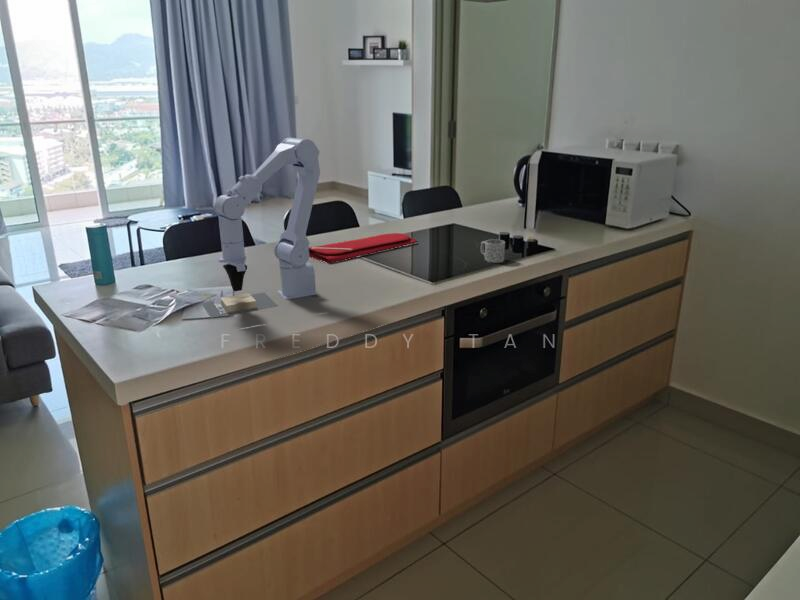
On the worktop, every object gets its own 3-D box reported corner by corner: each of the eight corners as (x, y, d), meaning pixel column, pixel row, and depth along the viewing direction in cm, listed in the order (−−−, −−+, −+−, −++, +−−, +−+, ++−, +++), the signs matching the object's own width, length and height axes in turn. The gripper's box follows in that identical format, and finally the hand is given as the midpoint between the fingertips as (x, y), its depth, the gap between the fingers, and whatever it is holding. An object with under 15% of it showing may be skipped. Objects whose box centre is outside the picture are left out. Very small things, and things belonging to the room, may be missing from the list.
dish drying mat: (418, 245, 229) (418, 235, 227) (329, 265, 204) (328, 255, 202) (392, 238, 240) (392, 228, 239) (304, 256, 215) (303, 246, 214)
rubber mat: (264, 293, 175) (264, 292, 175) (278, 307, 164) (277, 305, 164) (201, 304, 167) (201, 302, 167) (211, 319, 156) (211, 317, 156)
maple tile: (249, 293, 168) (256, 300, 162) (249, 300, 169) (256, 307, 163) (220, 298, 164) (226, 305, 159) (221, 305, 165) (227, 312, 159)
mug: (508, 260, 206) (509, 242, 204) (494, 264, 203) (495, 245, 200) (487, 254, 214) (488, 236, 212) (473, 257, 210) (474, 239, 208)
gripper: (210, 237, 162) (216, 285, 166) (223, 249, 150) (229, 300, 154) (237, 234, 165) (241, 281, 169) (251, 245, 153) (256, 296, 157)
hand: (237, 290), depth 162 cm, fingers closed
